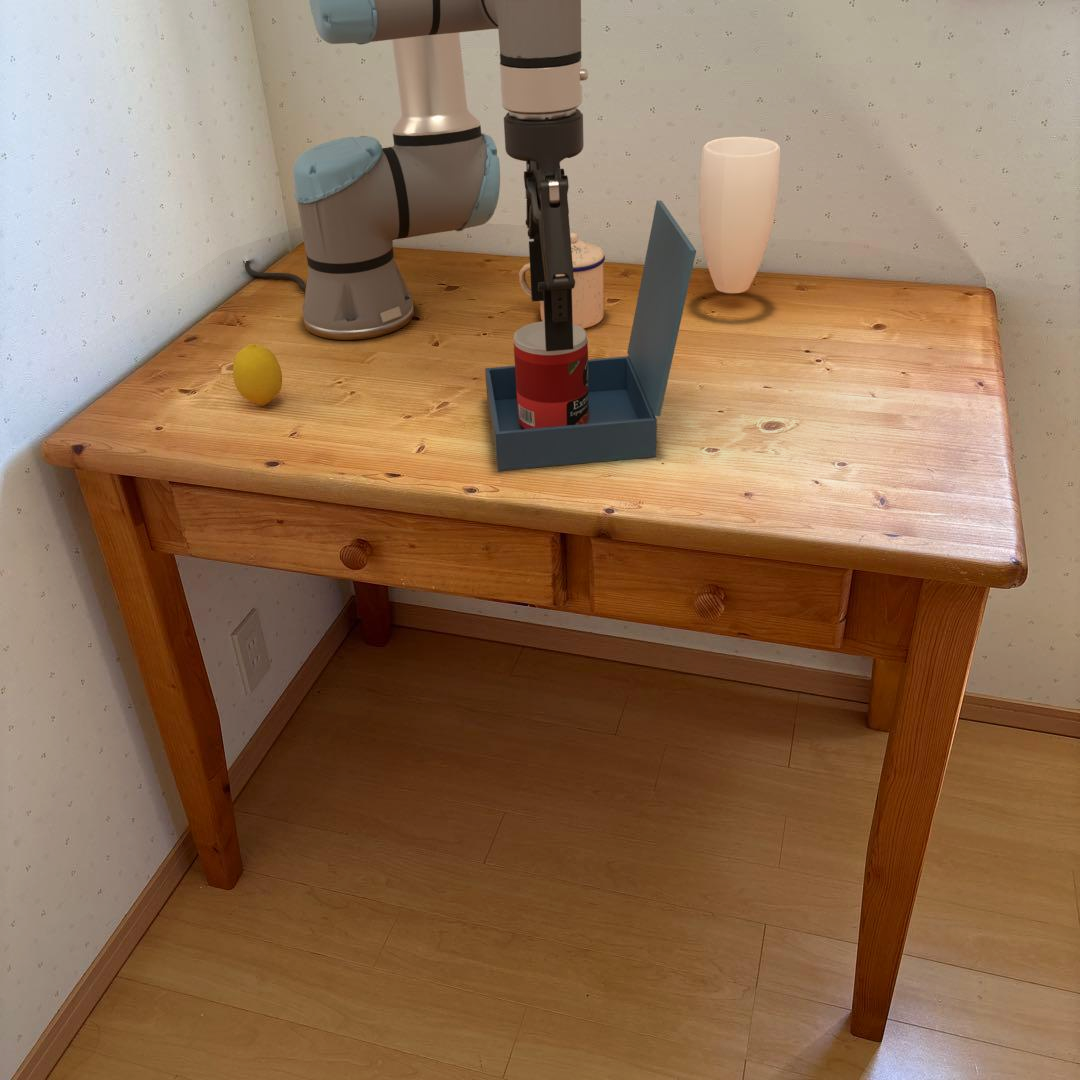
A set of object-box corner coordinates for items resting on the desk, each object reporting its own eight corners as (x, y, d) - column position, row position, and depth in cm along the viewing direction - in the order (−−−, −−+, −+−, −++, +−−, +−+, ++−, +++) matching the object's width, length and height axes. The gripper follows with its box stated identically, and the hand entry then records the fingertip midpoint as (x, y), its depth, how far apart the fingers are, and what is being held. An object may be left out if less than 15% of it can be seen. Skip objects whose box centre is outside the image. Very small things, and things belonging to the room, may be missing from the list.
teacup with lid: (613, 308, 146) (613, 225, 139) (594, 334, 139) (593, 248, 132) (532, 301, 150) (528, 219, 143) (509, 325, 143) (504, 241, 136)
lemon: (247, 420, 123) (233, 357, 118) (235, 402, 127) (221, 340, 122) (293, 409, 125) (280, 346, 120) (280, 391, 129) (268, 330, 124)
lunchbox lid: (690, 249, 100) (696, 250, 100) (656, 200, 113) (662, 200, 113) (654, 416, 109) (659, 416, 109) (627, 352, 122) (632, 353, 123)
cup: (780, 301, 146) (795, 140, 134) (750, 327, 139) (764, 160, 127) (711, 288, 151) (720, 132, 138) (679, 313, 144) (685, 151, 131)
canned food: (583, 444, 114) (581, 351, 108) (511, 440, 115) (505, 347, 109) (594, 411, 120) (593, 321, 114) (526, 407, 122) (521, 318, 115)
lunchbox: (498, 471, 111) (495, 433, 108) (487, 402, 124) (484, 368, 122) (656, 456, 112) (657, 419, 110) (629, 390, 125) (629, 355, 123)
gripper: (603, 138, 89) (605, 369, 100) (565, 82, 109) (570, 279, 121) (515, 145, 88) (528, 376, 100) (493, 87, 109) (506, 284, 121)
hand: (551, 323), depth 111 cm, fingers open, 13 cm apart
